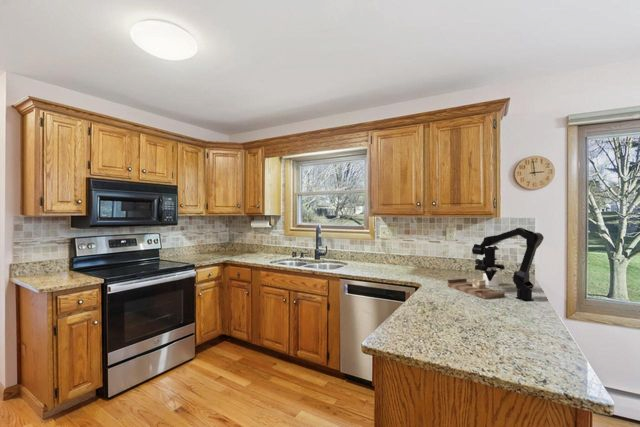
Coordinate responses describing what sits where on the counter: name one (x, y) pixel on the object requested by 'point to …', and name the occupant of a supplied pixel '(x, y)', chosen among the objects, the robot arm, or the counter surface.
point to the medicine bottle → (493, 282)
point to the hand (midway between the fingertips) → (489, 280)
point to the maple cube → (479, 283)
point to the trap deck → (474, 289)
